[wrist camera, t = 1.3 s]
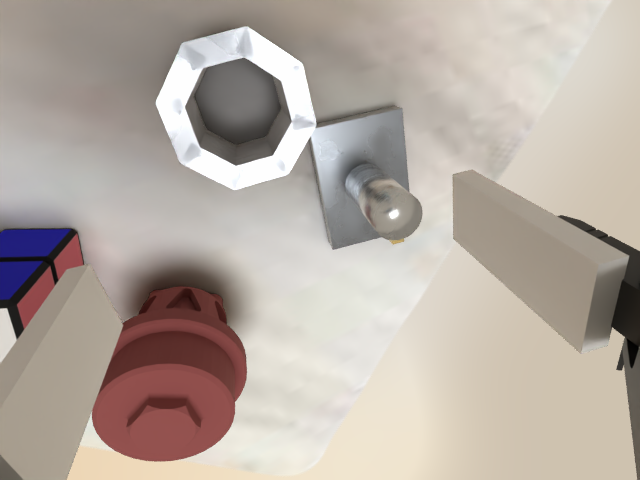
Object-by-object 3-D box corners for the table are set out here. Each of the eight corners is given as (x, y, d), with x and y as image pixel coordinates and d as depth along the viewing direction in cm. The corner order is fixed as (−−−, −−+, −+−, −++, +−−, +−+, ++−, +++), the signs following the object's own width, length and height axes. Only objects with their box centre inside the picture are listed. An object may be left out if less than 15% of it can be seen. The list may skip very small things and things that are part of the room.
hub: (155, 53, 26) (135, 54, 21) (279, 21, 26) (291, 14, 21) (202, 174, 30) (195, 201, 24) (309, 143, 30) (325, 164, 25)
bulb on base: (306, 126, 30) (330, 152, 22) (394, 105, 30) (447, 124, 23) (329, 241, 34) (355, 296, 27) (405, 222, 35) (452, 269, 27)
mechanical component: (99, 284, 32) (217, 243, 32) (157, 370, 37) (259, 332, 37) (29, 407, 21) (209, 342, 21) (124, 506, 26) (270, 451, 26)
